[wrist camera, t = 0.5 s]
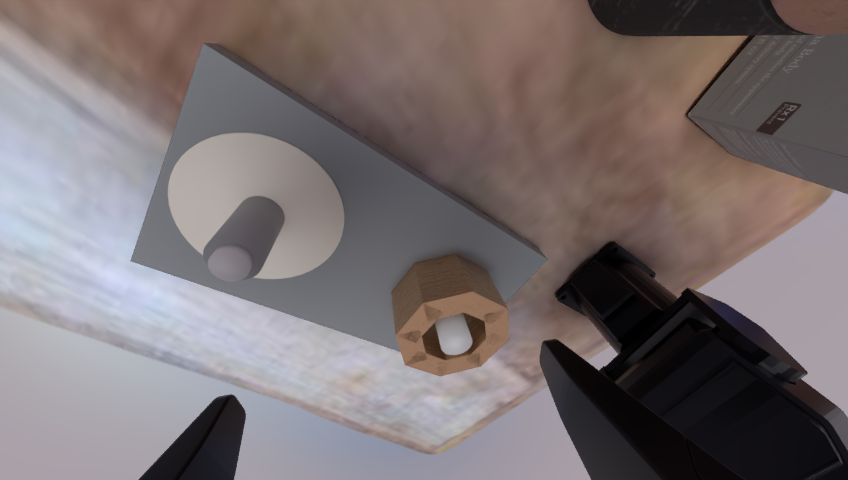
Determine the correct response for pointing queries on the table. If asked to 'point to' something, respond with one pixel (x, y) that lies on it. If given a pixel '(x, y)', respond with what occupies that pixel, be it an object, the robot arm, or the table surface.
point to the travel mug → (722, 17)
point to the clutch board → (307, 210)
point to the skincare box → (784, 106)
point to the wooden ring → (447, 313)
